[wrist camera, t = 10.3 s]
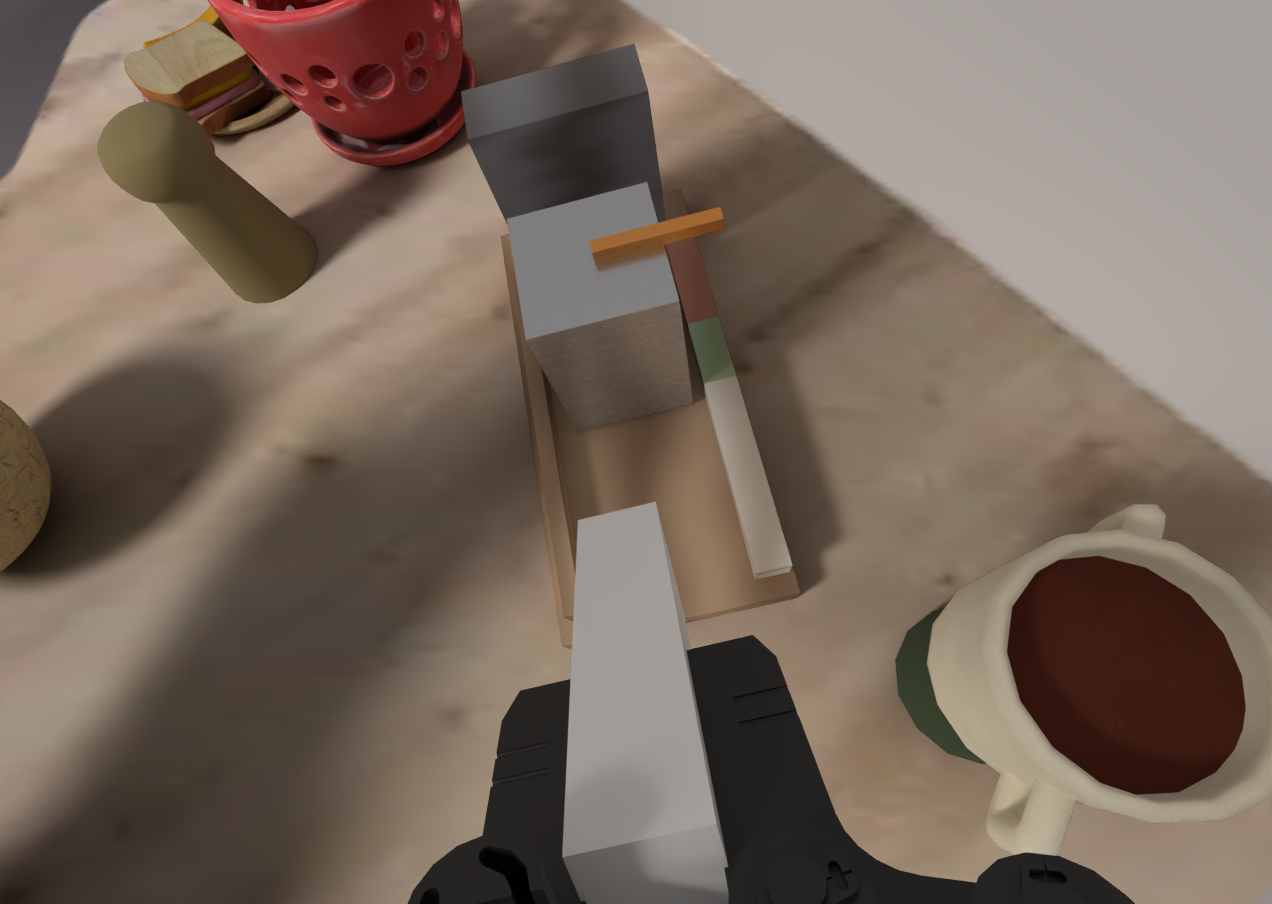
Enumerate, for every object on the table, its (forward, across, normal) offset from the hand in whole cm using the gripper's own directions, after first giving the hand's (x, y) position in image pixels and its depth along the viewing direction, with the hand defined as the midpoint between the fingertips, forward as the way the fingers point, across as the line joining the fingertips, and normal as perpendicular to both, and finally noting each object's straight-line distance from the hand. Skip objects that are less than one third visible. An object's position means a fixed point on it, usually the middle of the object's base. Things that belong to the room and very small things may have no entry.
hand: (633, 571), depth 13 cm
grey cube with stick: (+23, +1, -2) cm, 23 cm away
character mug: (+11, +12, -16) cm, 23 cm away
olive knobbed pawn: (+35, -21, +6) cm, 41 cm away
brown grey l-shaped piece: (+23, 0, -4) cm, 23 cm away
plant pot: (+42, -11, +14) cm, 45 cm away
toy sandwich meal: (+48, -23, +19) cm, 56 cm away
